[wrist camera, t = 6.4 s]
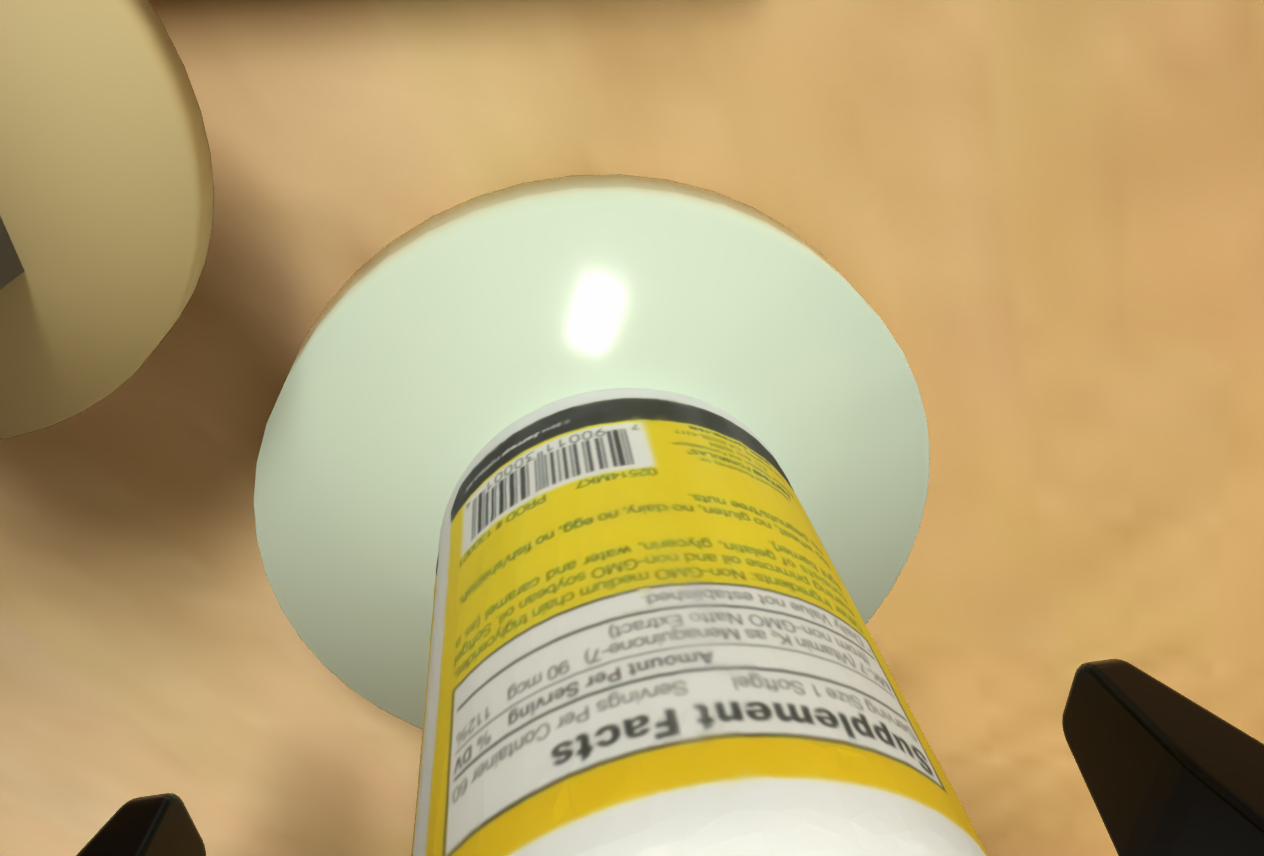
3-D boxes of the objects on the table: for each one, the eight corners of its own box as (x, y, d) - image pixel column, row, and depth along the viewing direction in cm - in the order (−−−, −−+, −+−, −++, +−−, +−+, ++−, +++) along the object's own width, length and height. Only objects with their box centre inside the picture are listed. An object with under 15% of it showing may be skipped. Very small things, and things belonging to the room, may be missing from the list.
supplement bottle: (699, 687, 13) (927, 1570, 6) (396, 623, 12) (243, 1671, 5) (853, 435, 11) (1450, 1313, 4) (511, 322, 10) (539, 1359, 3)
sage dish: (931, 143, 11) (976, 167, 10) (867, 660, 15) (893, 713, 14) (184, 209, 10) (148, 244, 9) (354, 732, 15) (344, 793, 14)
